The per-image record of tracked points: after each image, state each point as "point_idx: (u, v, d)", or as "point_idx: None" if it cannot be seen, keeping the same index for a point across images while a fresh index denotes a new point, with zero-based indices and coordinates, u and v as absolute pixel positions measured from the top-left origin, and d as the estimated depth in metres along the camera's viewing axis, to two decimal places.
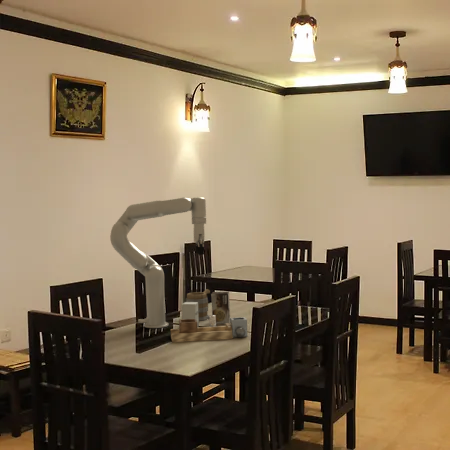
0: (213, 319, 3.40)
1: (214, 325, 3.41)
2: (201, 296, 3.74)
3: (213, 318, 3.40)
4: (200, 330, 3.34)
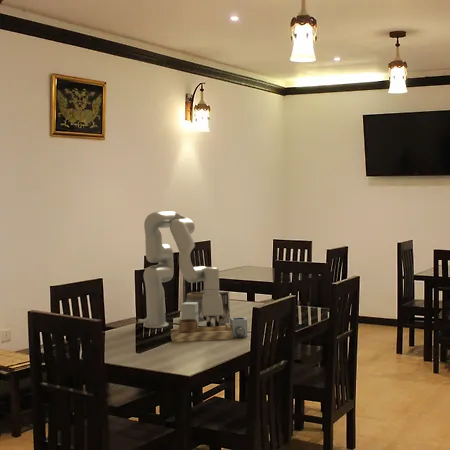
0: (213, 319, 3.40)
1: (214, 325, 3.41)
2: (201, 296, 3.74)
3: (213, 318, 3.40)
4: (200, 330, 3.34)
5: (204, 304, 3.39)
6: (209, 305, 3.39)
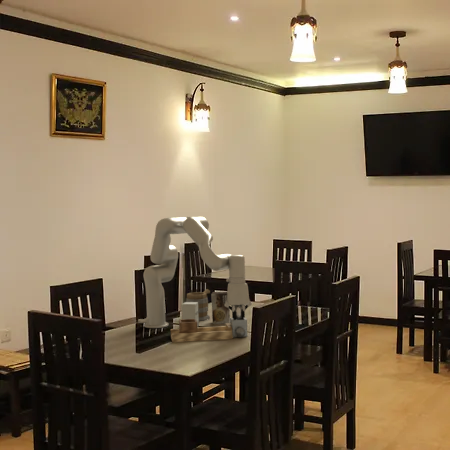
0: (239, 308, 3.29)
1: (240, 315, 3.29)
2: (201, 296, 3.74)
3: (239, 307, 3.29)
4: (200, 330, 3.34)
5: (230, 293, 3.27)
6: (235, 293, 3.27)
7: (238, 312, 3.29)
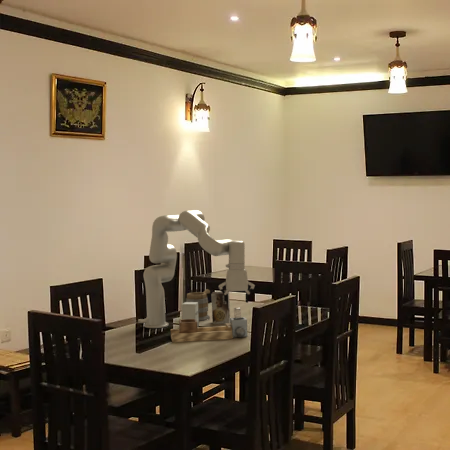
0: (238, 311, 3.29)
1: (239, 318, 3.29)
2: (201, 296, 3.74)
3: (238, 311, 3.29)
4: (200, 330, 3.34)
5: (229, 279, 3.27)
6: (234, 279, 3.27)
7: (237, 315, 3.29)
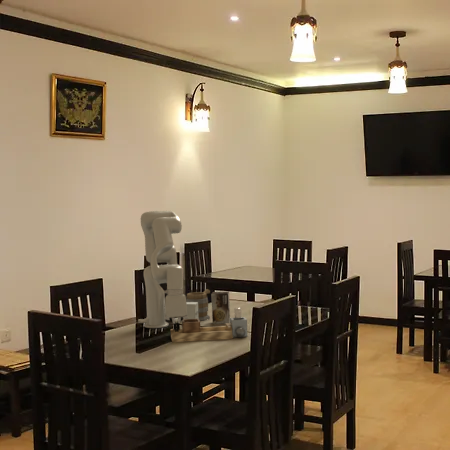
0: (239, 311, 3.29)
1: (240, 318, 3.29)
2: (201, 296, 3.74)
3: (239, 311, 3.29)
4: None
5: (167, 305, 3.23)
6: (172, 305, 3.23)
7: (238, 315, 3.29)
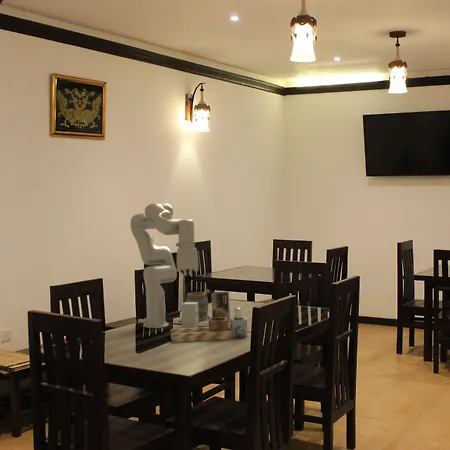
0: (239, 311, 3.29)
1: (240, 318, 3.29)
2: (201, 296, 3.74)
3: (239, 311, 3.29)
4: (200, 330, 3.34)
5: (179, 257, 3.29)
6: (184, 258, 3.29)
7: (238, 315, 3.29)
